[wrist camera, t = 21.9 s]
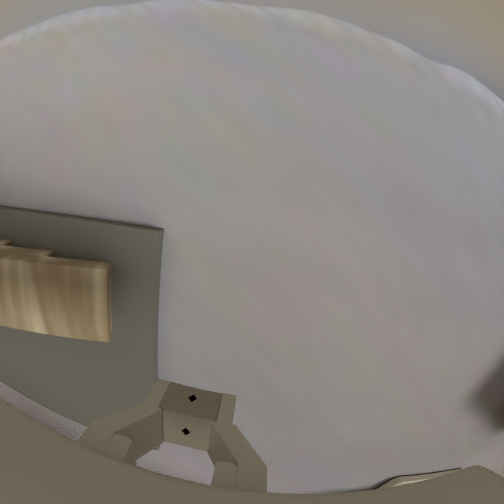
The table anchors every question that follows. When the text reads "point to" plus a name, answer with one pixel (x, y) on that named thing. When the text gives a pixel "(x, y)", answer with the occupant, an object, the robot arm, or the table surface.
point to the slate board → (87, 351)
